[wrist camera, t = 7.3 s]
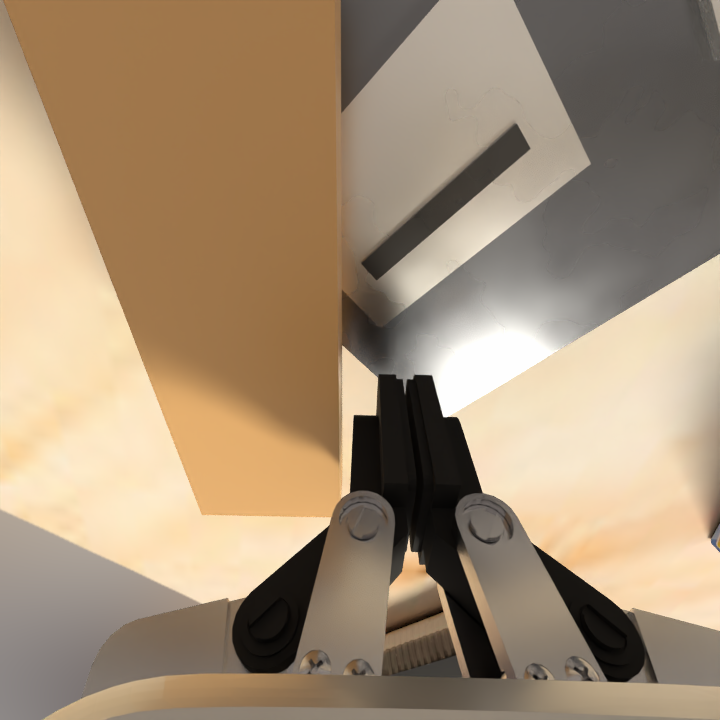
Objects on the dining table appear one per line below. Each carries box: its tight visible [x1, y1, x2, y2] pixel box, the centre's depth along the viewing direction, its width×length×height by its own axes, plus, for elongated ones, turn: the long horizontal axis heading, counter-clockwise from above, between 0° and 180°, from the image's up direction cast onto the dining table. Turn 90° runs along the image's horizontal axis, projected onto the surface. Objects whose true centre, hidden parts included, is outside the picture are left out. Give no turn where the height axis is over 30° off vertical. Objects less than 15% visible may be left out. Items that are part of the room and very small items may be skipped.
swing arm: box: [3, 0, 342, 517], centre depth 7 cm, size 4×15×2 cm, turn 178°
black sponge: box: [381, 612, 463, 678], centre depth 29 cm, size 16×8×4 cm, turn 135°
